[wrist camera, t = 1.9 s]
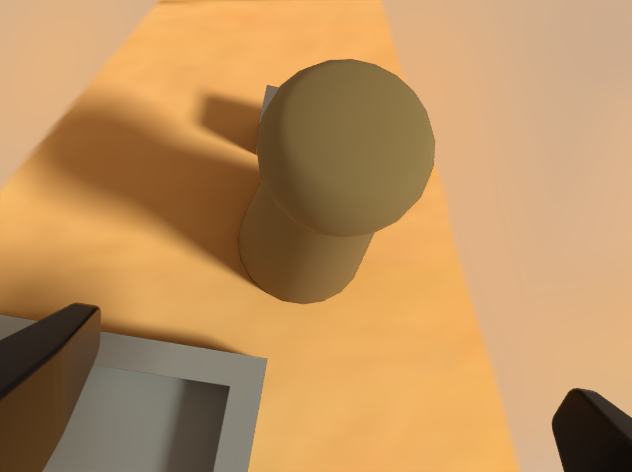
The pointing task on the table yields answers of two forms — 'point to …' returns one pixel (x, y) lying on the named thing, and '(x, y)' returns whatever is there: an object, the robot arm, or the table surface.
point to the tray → (159, 408)
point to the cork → (332, 176)
